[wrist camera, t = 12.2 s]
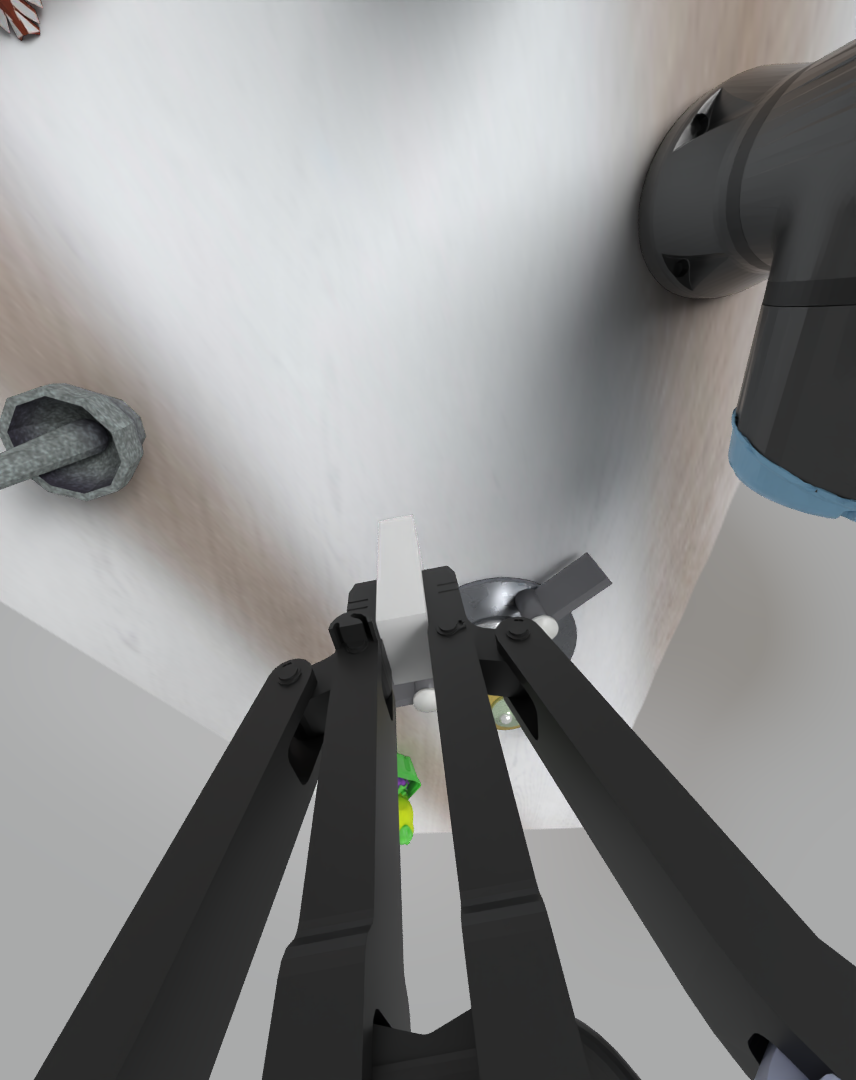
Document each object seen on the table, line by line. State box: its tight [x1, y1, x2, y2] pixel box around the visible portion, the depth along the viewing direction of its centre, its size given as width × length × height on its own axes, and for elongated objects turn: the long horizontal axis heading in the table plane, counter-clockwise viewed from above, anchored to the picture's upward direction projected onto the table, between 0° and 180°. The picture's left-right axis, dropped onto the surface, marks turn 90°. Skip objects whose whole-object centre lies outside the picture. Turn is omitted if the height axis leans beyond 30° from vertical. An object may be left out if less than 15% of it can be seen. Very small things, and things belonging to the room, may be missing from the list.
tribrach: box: [459, 577, 577, 730], centre depth 56 cm, size 24×24×12 cm
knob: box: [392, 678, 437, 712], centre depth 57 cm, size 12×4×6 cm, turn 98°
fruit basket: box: [397, 753, 421, 845], centre depth 68 cm, size 11×9×11 cm
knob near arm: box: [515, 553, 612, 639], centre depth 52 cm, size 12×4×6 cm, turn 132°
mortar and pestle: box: [0, 383, 146, 501], centre depth 37 cm, size 11×9×12 cm
